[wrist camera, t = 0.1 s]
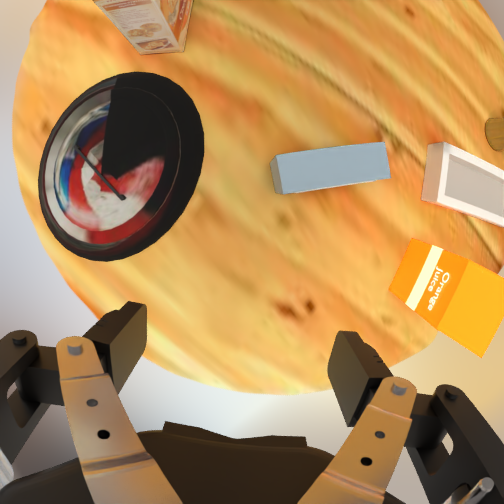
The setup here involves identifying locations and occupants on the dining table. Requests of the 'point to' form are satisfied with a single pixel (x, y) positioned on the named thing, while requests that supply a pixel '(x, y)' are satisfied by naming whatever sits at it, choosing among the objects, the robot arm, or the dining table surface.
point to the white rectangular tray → (463, 183)
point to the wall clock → (120, 166)
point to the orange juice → (451, 294)
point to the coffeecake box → (150, 23)
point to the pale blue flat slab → (329, 167)
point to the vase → (495, 133)
